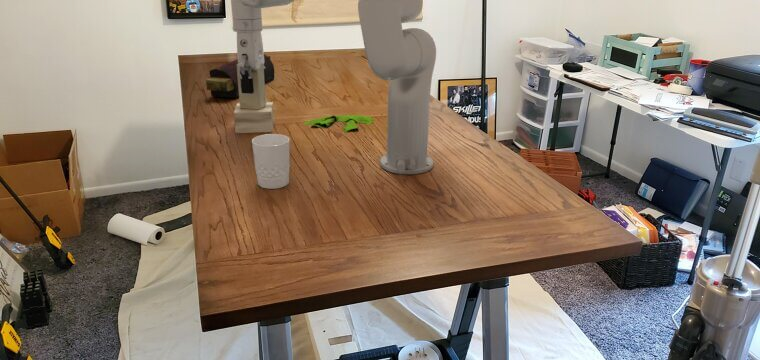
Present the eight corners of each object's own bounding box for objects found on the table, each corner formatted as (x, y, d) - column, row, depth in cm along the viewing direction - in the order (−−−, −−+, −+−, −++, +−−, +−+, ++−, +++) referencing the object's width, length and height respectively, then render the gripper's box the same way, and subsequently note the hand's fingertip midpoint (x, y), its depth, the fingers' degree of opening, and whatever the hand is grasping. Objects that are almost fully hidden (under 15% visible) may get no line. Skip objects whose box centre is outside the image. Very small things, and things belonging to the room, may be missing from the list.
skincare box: (239, 108, 156) (235, 64, 151) (246, 104, 160) (242, 61, 155) (260, 109, 154) (256, 65, 150) (267, 105, 158) (263, 62, 154)
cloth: (382, 119, 170) (382, 111, 169) (360, 142, 150) (360, 134, 149) (319, 113, 175) (318, 105, 174) (289, 134, 155) (289, 126, 154)
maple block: (272, 132, 155) (271, 111, 153) (235, 133, 154) (233, 112, 152) (273, 122, 165) (272, 102, 162) (239, 122, 163) (237, 102, 161)
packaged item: (231, 103, 182) (228, 72, 178) (203, 101, 184) (200, 70, 180) (280, 77, 217) (279, 51, 213) (257, 75, 219) (255, 49, 215)
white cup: (275, 173, 128) (272, 131, 124) (299, 182, 124) (297, 139, 120) (247, 183, 122) (244, 140, 119) (271, 193, 118) (268, 148, 114)
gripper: (253, 30, 140) (258, 97, 147) (269, 21, 156) (273, 81, 163) (223, 29, 141) (229, 96, 147) (242, 20, 156) (247, 81, 163)
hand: (252, 88), depth 155 cm, fingers open, 9 cm apart
